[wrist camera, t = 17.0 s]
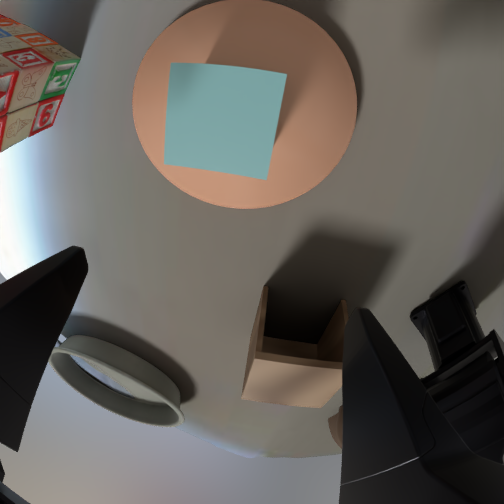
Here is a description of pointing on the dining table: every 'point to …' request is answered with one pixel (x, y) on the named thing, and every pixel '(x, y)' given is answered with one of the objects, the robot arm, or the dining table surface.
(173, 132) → the block
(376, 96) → the dining table surface
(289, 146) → the dish
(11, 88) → the stack of blocks
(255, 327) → the brown wooden open box
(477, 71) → the dining table surface
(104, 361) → the cake pan
